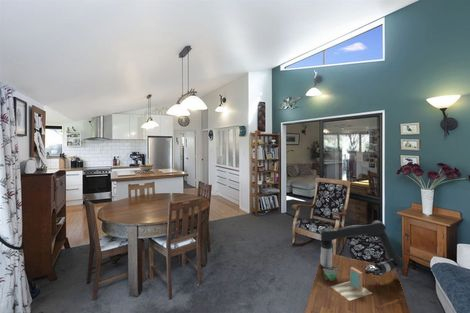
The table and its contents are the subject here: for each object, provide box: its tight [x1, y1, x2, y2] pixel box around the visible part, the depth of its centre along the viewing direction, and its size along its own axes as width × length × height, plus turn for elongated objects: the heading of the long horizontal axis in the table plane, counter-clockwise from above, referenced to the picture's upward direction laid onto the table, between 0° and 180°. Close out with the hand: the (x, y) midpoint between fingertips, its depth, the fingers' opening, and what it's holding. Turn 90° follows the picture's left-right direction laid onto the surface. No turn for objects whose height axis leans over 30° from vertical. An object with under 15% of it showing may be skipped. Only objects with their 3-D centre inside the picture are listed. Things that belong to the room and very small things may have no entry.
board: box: [330, 280, 373, 302], centre depth 180 cm, size 18×22×1 cm
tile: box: [349, 266, 364, 292], centre depth 181 cm, size 9×3×14 cm, turn 21°
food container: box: [322, 265, 339, 282], centre depth 193 cm, size 12×6×10 cm, turn 101°
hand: (366, 272), depth 185 cm, fingers closed
